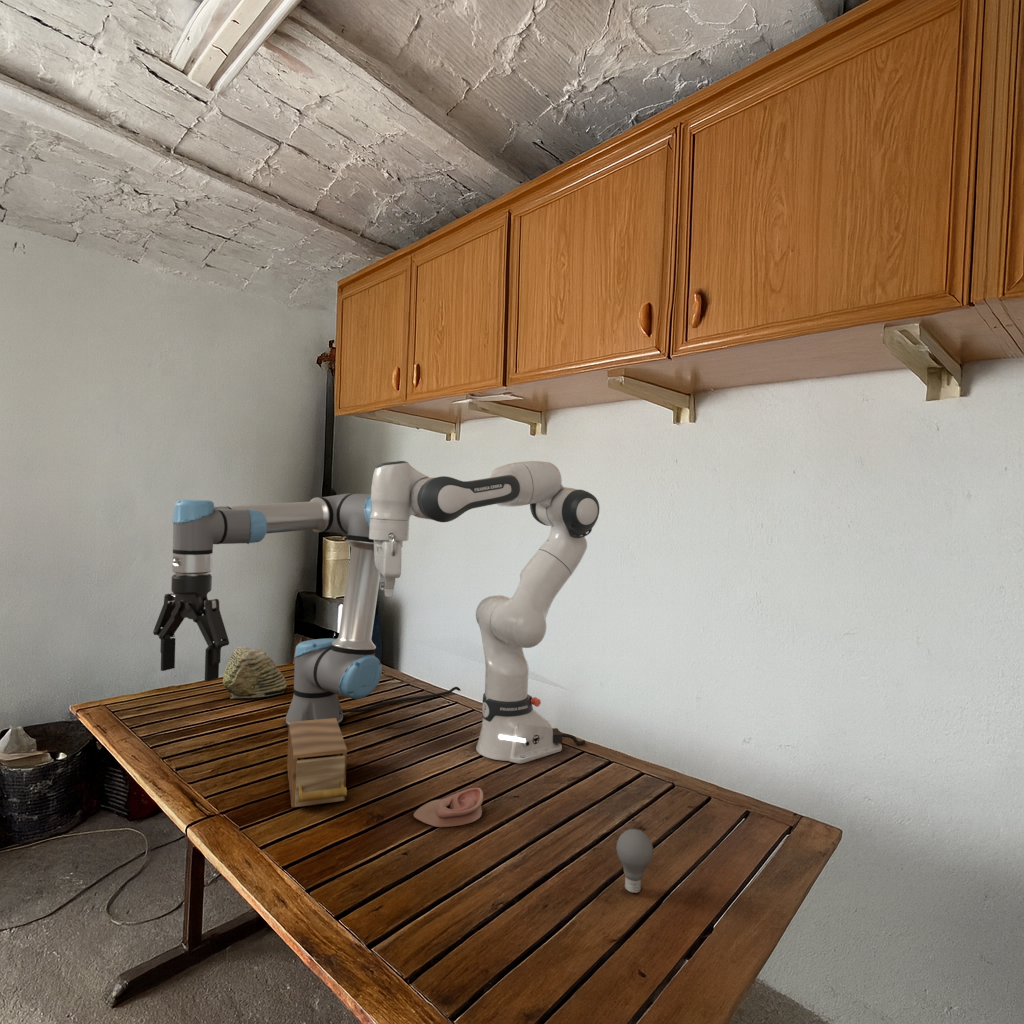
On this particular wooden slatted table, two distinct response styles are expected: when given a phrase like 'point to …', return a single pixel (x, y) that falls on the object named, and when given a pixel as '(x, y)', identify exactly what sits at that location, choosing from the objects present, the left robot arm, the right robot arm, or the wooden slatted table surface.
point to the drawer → (320, 780)
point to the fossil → (252, 674)
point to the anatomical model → (452, 809)
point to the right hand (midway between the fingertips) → (386, 593)
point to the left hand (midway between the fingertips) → (189, 674)
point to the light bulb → (634, 857)
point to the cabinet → (312, 745)
